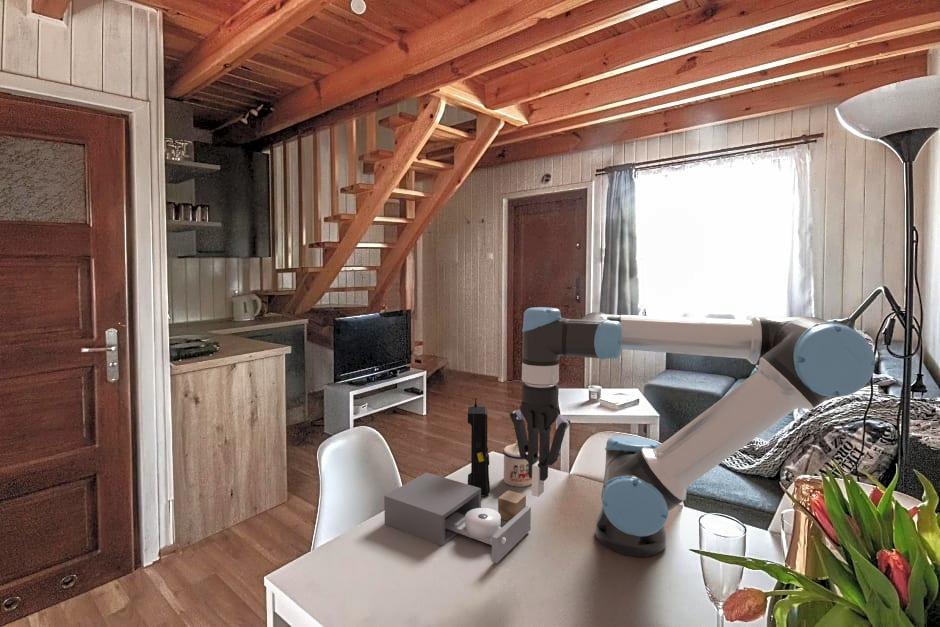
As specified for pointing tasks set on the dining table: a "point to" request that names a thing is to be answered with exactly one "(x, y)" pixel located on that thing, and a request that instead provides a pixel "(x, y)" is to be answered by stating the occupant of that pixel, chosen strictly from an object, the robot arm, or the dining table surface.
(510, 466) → the teacup with lid
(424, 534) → the gray drawer box
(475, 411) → the portable radio
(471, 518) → the white domed disc
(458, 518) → the pull-out drawer
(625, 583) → the dining table surface
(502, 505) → the brown block
